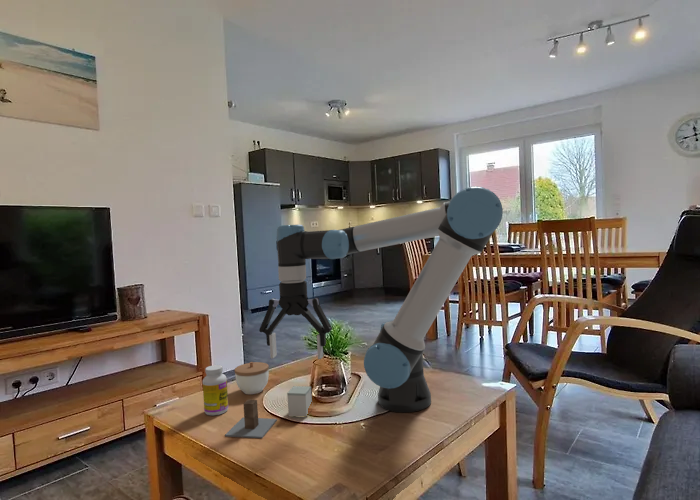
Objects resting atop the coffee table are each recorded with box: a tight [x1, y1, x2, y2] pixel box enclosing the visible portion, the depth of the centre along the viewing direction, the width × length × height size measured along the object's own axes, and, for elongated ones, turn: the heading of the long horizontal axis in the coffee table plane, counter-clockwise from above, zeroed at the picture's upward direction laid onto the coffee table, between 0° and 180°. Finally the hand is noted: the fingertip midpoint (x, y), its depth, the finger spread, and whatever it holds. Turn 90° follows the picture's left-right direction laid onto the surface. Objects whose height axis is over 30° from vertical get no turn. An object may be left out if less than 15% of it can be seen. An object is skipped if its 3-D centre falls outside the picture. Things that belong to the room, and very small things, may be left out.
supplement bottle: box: [202, 364, 229, 416], centre depth 124 cm, size 7×7×13 cm
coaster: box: [224, 416, 278, 439], centre depth 112 cm, size 10×10×1 cm
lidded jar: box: [234, 361, 270, 395], centre depth 139 cm, size 11×11×9 cm
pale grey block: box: [286, 385, 313, 417], centre depth 120 cm, size 5×5×7 cm
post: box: [243, 399, 259, 429], centre depth 112 cm, size 3×3×7 cm
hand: (296, 357), depth 119 cm, fingers open, 13 cm apart
